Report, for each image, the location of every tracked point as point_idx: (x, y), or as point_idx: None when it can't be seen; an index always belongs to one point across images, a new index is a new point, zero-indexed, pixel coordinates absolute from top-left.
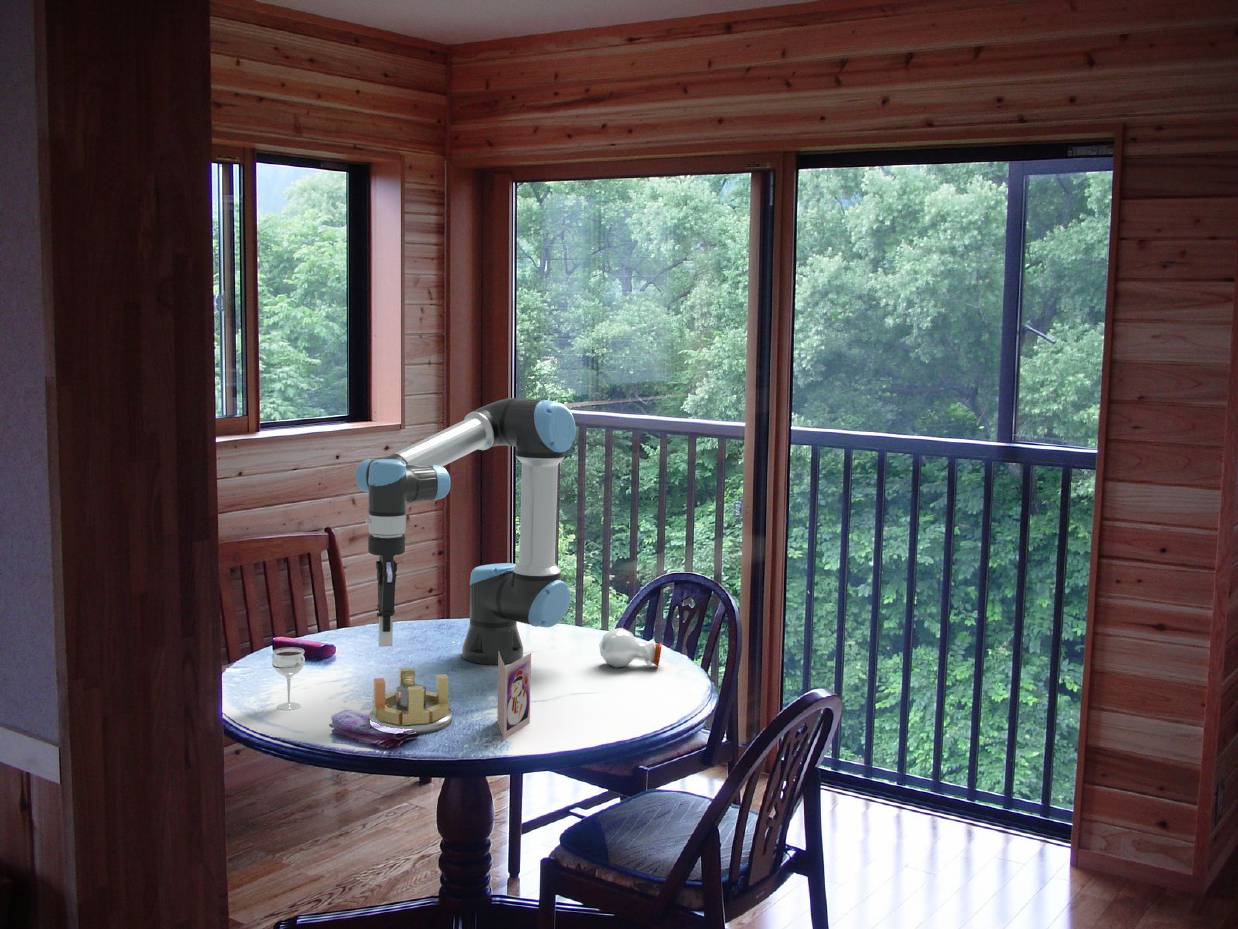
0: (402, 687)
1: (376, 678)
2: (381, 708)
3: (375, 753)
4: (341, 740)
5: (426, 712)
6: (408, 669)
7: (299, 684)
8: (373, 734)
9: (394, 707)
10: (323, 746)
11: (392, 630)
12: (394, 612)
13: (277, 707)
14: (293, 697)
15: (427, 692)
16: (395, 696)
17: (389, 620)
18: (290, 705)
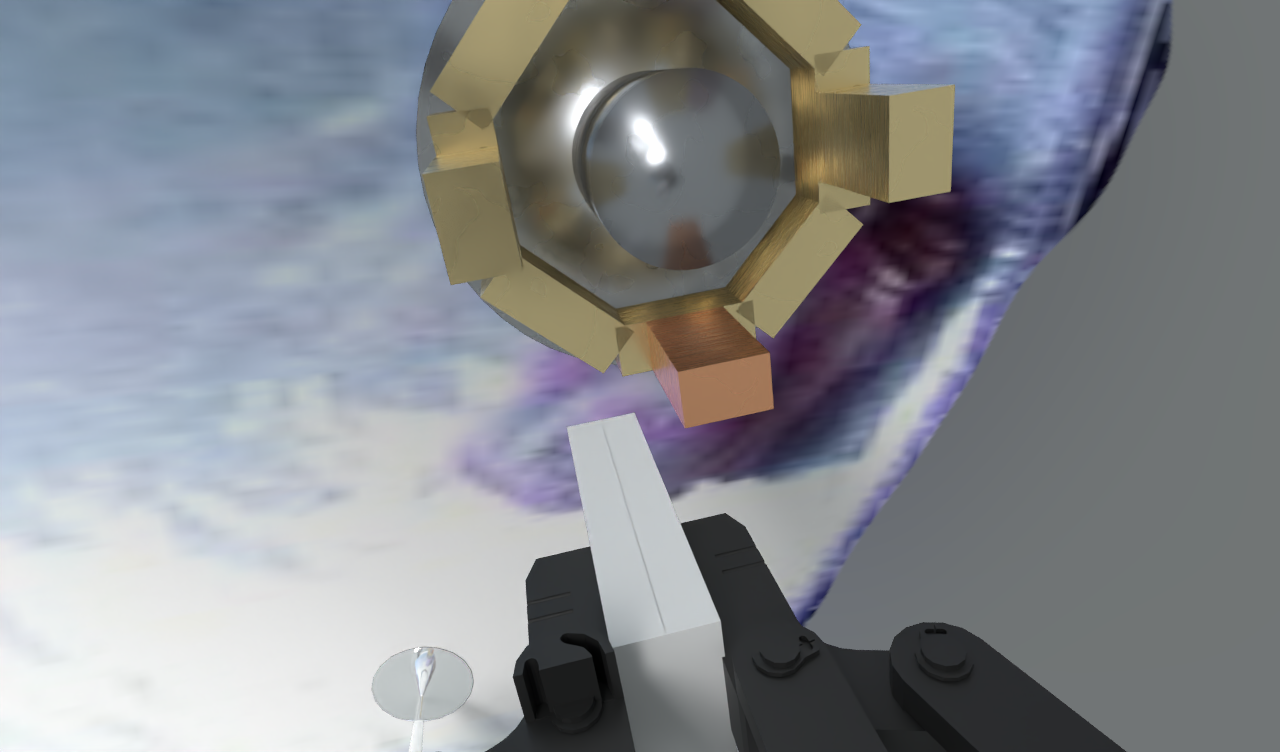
0: (665, 233)
1: (683, 413)
2: (760, 321)
3: (1011, 289)
4: (845, 431)
5: (867, 65)
6: (475, 214)
7: (84, 722)
8: (801, 318)
9: (540, 252)
10: (893, 481)
11: (668, 496)
12: (596, 635)
13: (442, 716)
14: (295, 698)
15: (483, 54)
16: (530, 262)
17: (787, 612)
18: (441, 683)
